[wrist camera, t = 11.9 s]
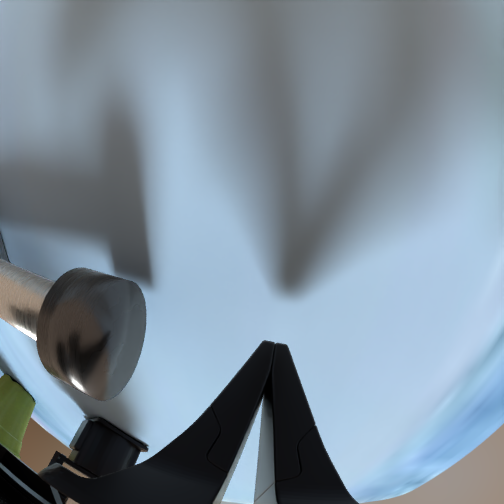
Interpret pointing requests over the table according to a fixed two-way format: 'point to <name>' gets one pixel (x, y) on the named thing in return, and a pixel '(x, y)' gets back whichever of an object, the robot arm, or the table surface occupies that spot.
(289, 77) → the table surface
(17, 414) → the plant pot
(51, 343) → the shaft
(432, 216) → the table surface
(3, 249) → the cradle rig
